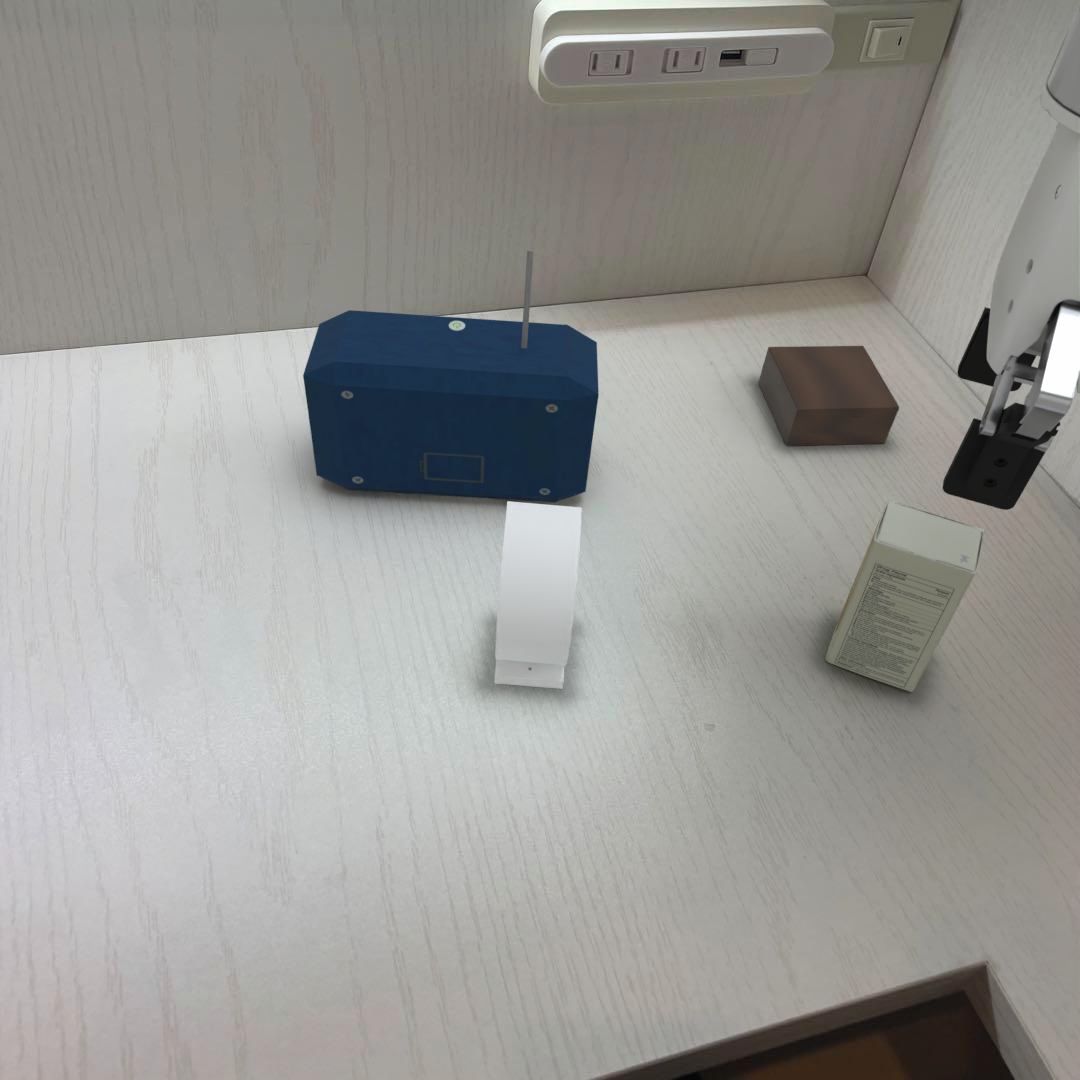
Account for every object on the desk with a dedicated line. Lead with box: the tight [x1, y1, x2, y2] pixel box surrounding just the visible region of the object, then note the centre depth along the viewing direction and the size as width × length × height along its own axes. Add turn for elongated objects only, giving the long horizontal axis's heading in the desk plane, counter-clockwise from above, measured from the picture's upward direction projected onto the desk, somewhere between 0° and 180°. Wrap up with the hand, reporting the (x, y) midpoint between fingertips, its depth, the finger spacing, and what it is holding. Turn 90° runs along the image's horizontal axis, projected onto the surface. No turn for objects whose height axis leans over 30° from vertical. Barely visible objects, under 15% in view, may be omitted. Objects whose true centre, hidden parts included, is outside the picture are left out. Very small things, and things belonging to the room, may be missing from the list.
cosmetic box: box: [825, 499, 985, 693], centre depth 64 cm, size 6×4×12 cm
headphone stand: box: [493, 500, 583, 690], centre depth 61 cm, size 5×6×12 cm
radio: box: [302, 249, 599, 503], centre depth 72 cm, size 21×9×20 cm, turn 89°
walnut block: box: [758, 345, 900, 447], centre depth 86 cm, size 9×9×4 cm
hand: (981, 436), depth 48 cm, fingers open, 9 cm apart
